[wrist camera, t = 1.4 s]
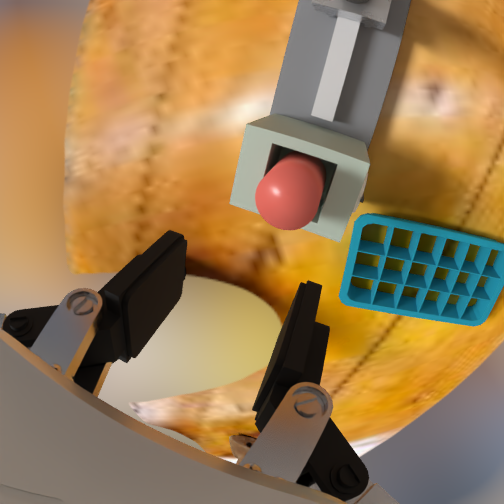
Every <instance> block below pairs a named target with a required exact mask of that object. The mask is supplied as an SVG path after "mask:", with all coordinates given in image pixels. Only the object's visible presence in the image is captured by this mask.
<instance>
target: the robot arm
mask: <svg viewBox="0 0 504 504" xmlns="http://www.w3.org/2000/svg"><path fill="white" fill-rule="evenodd" d="M186 250H187V240H185V239H184V236H183V235H182V234H180V233H177V232H174V231H171V230H169V231H167V232H166V233H165V234H164V235H163V236H162V237H161V238H159V239H158V240H157V241H156V242H155V243H154V244H153V245H152V246H151V247H149V248H148V249H147V250H146V251H145V252H144V253H143V254H142V255H137V256H136V257H135V258H134V259H133V260H131V261H130V262H129V263H128V264H127V265H126V266H125V267H124V268H123V269H122V270H121V271H120V272H118V273H117V274H116V275H115V276H114V277H113V278H112V279H111V280H110V281H109V282H108V283H107V284H106V285H105V286H104V287H103V288H102V289H101V290H100V291H98V292H96V291H94V290H92V289H88V288H80V289H76V290H73V291H71V292H70V293H68V294H67V295H66V296H65V298H64V299H63V300H62V302H61V303H60V305H55V306H47V307H39V308H31V309H23V310H17V311H14V312H12V313H11V314H9V315H8V316H6V314H1V313H0V504H399V503H398V502H397V501H396V500H395V499H394V498H392V497H391V496H390V495H389V494H388V493H387V492H386V491H385V490H384V489H383V488H382V487H381V486H379V485H378V483H376V484H373V483H372V482H371V481H370V480H369V475H368V470H367V468H366V467H365V465H364V464H363V462H362V461H361V459H360V458H359V457H358V455H357V454H356V453H355V451H354V450H353V448H352V447H351V446H350V444H349V443H348V442H347V440H346V439H345V437H344V436H343V435H342V433H341V432H340V430H339V429H338V428H337V426H336V425H335V423H334V422H333V421H332V419H331V418H330V415H331V413H332V409H333V403H332V399H331V397H330V395H329V394H328V392H327V391H326V390H325V389H324V388H322V387H321V386H320V381H321V376H322V371H323V366H324V360H325V355H326V349H327V343H328V337H329V331H330V327H329V326H327V325H324V324H321V323H318V322H315V318H316V314H317V309H318V304H319V299H320V294H321V289H322V285H320V284H317V283H314V282H311V281H309V280H308V281H307V283H306V284H305V283H302V282H301V283H300V285H299V288H298V290H297V293H296V295H295V298H294V300H293V302H292V305H291V307H290V310H289V312H288V315H287V317H286V319H285V322H284V324H283V326H282V329H281V331H280V334H279V336H278V339H277V342H276V345H275V348H274V350H273V353H272V356H271V359H270V362H269V365H268V367H267V370H266V373H265V376H264V378H263V381H262V384H261V387H260V389H259V392H258V395H257V398H256V400H255V403H254V406H253V408H252V410H253V411H256V412H257V414H256V417H255V420H256V423H255V425H256V426H257V428H258V430H259V432H260V433H261V434H260V435H259V436H258V438H257V439H256V441H255V442H254V444H253V445H252V447H251V448H250V449H249V451H248V452H247V454H246V455H245V456H244V458H243V459H242V461H241V462H240V463H239V465H237V464H234V463H231V462H229V461H226V460H223V459H221V458H218V457H216V456H213V455H210V454H208V453H206V452H203V451H201V450H198V449H196V448H194V447H191V446H188V445H187V444H184V443H182V442H180V441H178V440H176V439H173V438H171V437H169V436H167V435H165V434H163V433H161V432H159V431H157V430H155V429H153V428H151V427H149V426H146V425H145V424H143V423H141V422H139V421H137V420H135V419H134V418H132V417H130V416H128V415H126V414H124V413H123V412H121V411H119V410H118V409H116V408H114V407H112V406H111V405H109V404H107V403H106V402H104V401H102V400H101V399H99V398H97V397H98V395H99V392H100V390H101V388H102V385H103V383H104V380H105V378H106V376H107V373H108V371H109V369H110V367H111V364H112V362H114V361H116V360H117V359H120V360H122V361H124V362H126V363H127V362H128V361H129V360H130V359H131V357H133V358H136V357H137V356H138V354H139V353H140V352H141V350H142V349H143V347H144V346H145V345H146V344H147V342H148V341H149V340H150V338H151V337H152V336H153V334H154V333H155V331H156V330H157V329H158V327H159V326H160V325H161V323H162V322H163V321H164V320H165V318H166V317H167V316H168V314H169V313H170V312H171V310H172V309H173V308H174V306H175V305H176V304H177V302H178V301H179V299H180V297H181V294H182V287H183V277H184V268H185V258H186Z"/></svg>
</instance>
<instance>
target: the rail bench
mask: <svg viewBox="0 0 504 504" xmlns="http://www.w3.org/2000/svg"><path fill="white" fill-rule="evenodd" d="M311 2H312V0H299V2H298V6H297V10H296V14H295V17H294V21H293V25H292V29H291V33H290V37H289V41H288V44H287V48H286V52H285V56H284V60H283V64H282V68H281V72H280V76H279V80H278V84H277V88H276V92H275V96H274V100H273V104H272V108H271V112H270V115H269V116H267V117H264V118H261V119H259V120H256V121H253V122H251V123H248V124H246V129H245V133H244V138H243V142H242V147H241V152H240V156H239V161H238V165H237V170H236V175H235V180H234V184H233V189H232V194H231V199H230V204H231V205H234V206H237V207H240V208H243V209H246V210H249V211H252V212H255V213H258V214H260V213H259V211H258V209H257V207H256V203H255V193H256V189H257V186H258V184H259V182H260V181H261V180H262V179H263V178H264V176H265V175H266V174H267V173H268V172H269V171H270V170H271V169H272V168H273V167H274V166H275V165H276V164H277V163H278V162H279V161H280V160H281V159H282V157H283V156H285V155H286V154H288V153H289V152H292V151H299V152H303V153H306V154H309V155H312V156H315V157H318V158H319V159H320V160H321V161H322V163H323V165H324V167H325V170H326V182H325V185H324V189H323V192H322V196H321V199H320V203H319V206H318V210H317V213H316V215H315V217H314V218H313V220H312V221H311V222H310V223H309V224H307V225H306V226H304V227H302V228H301V229H304V230H307V231H309V232H312V233H315V234H318V235H320V236H323V237H326V238H329V239H331V240H334V241H337V242H340V241H341V238H342V236H343V233H344V231H345V229H346V226H347V224H348V221H349V219H350V216H351V214H352V212H353V213H354V212H355V211H356V209H357V207H358V205H359V203H360V202H362V203H363V200H364V194H363V192H364V189H365V186H366V182H367V177H368V169H369V166H370V160H369V156H368V153H367V151H368V148H369V145H370V142H371V139H372V136H373V133H374V130H375V127H376V124H377V121H378V118H379V115H380V111H381V108H382V105H383V102H384V99H385V95H386V92H387V89H388V86H389V82H390V79H391V75H392V72H393V68H394V65H395V61H396V58H397V54H398V50H399V47H400V43H401V39H402V35H403V31H404V27H405V23H406V19H407V15H408V11H409V6H410V2H411V0H391V4H390V8H389V12H388V17H387V20H386V24H385V26H384V28H383V30H380V29H377V28H374V27H371V28H367V27H364V24H362V23H359V22H356V21H353V20H349V19H346V18H342V17H339V16H334V18H333V17H330V16H327V13H323V12H319V11H315V9H314V7H313V5H312V3H311Z"/></svg>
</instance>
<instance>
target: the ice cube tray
mask: <svg viewBox="0 0 504 504" xmlns="http://www.w3.org/2000/svg"><path fill="white" fill-rule="evenodd" d="M373 223H374V224H380V225H385V226H388V228H387V232H386V236H385V240H384V244H381V243H376V242H371V241H365V240H360V238H361V233H362V228H363V227H364V226H366V225H367V224H373ZM394 227H395V228H400V229H405V230H410V231H413V233H412V237H411V241H410V244H409V248H408V249H407V248H402V247H397V246H392V245H390V242H391V238H392V234H393V230H394ZM421 233H424V234H429V235H434V236H437V238H436V241H435V244H434V247H433V250H432V253H427V252H422V251H417V250H416V249H417V246H418V243H419V239H420V236H421ZM447 238H448V239H452V240H456V241H459V244H458V247H457V249H456V252H455V255H454V258H452V257H447V256H442V255H441V254H442V251H443V248H444V245H445V242H446V239H447ZM470 244H474V245H478V246H480V247H479V250H478V253H477V255H476V258H475V261H474V262H471V261H466V260H465V257H466V254H467V252H468V249H469V246H470ZM492 249H495V250H499V251H498V254H497V256H496V259H495V261H494V264H493V266H489V265H486V262H487V260H488V257H489V255H490V252H491V250H492ZM357 252H363V253H368V254H374V255H379V256H380V260H379V263H378V267H374V266H368V265H363V264H357V263H355V260H356V256H357ZM386 257H389V258H395V259H400V260H405V261H404V264H403V267H402V270H401V271H395V270H390V269H385V268H384V264H385V261H386ZM412 262H416V263H421V264H426V265H427V268H426V271H425V274H424V276H422V275H417V274H411V273H409V271H410V268H411V265H412ZM437 267H441V268H446V269H449V271H448V274H447V276H446V279H445V280H443V279H438V278H433V276H434V274H435V271H436V268H437ZM460 271H461V272H466V273H469V276H468V278H467V280H466V283H465V284H464V283H459V282H456V280H457V277H458V275H459V272H460ZM352 276H355V277H360V278H366V279H371V280H374V281H373V284H372V288H371V290H369V289H363V288H357V287H355V286H353V285H352V283H351V282H350V281H351V277H352ZM481 276H486V277H488V278H487V280H486V282H485V285H484V287H480V286H477V284H478V281H479V279H480V277H481ZM379 281H382V282H387V283H393V284H397V286H396V289H395V291H394V294H391V293H385V292H380V291H377V288H378V285H379ZM404 286H410V287H415V288H419V290H418V293H417V295H416V298H414V297H408V296H402V295H401V294H402V291H403V289H404ZM503 286H504V243H500V242H497V241H496V240H493V239H489V238H485V237H481V236H477V235H473V234H469V233H465V232H460V231H456V230H452V229H447V228H443V227H439V226H434V225H429V224H425V223H420V222H415V221H411V220H406V219H401V218H396V217H391V216H386V215H381V214H376V213H372V214H369V213H367V214H363V215H360V216H359V217H358V218H357V220H356V221H355V222H354V228H353V233H352V238H351V243H350V248H349V253H348V257H347V262H346V266H345V271H344V275H343V280H342V284H341V288H340V293H339V298H340V300H341V302H342V303H343V304H345V305H347V306H352V307H358V308H363V309H369V310H374V311H380V312H386V313H392V314H398V315H404V316H410V317H416V318H422V319H428V320H435V321H441V322H448V323H455V324H461V325H468V326H478V325H481V324H482V323H483V322H485V321H486V319H487V317H488V315H489V314H490V312H491V310H492V308H493V306H494V304H495V302H496V300H497V298H498V296H499V294H500V292H501V290H502V288H503ZM428 290H432V291H437V292H440V294H439V296H438V298H437V301H431V300H425V297H426V294H427V292H428ZM450 294H454V295H460V296H459V298H458V301H457V303H456V305H455V304H449V303H447V301H448V298H449V296H450ZM471 298H477V302H476V303H475V304H474V305H472V306H467V305H468V303H469V301H470V299H471Z"/></svg>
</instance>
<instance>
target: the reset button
mask: <svg viewBox="0 0 504 504" xmlns="http://www.w3.org/2000/svg"><path fill="white" fill-rule="evenodd" d="M325 182H326V170H325V167H324V165H323V163H322V161H321V160H320V159H319V158H318V157H315V156H312V155H309V154H306V153H303V152H299V151H292V152H289V153H288V154H286V155H285V156H283V157H282V159H281V160H280V161H279V162H278V163H277V164H276V165H275V166H274V167H273V168H272V169H271V170H270V171H269V172H268V173H267V174H266V175H265V176H264V178H263V179H262V180H261V181H260V182H259V184H258V186H257V189H256V193H255V203H256V207H257V209H258V211H259V213H260V215H261V216H262V217H263V219H264V220H265V221H267V222H268V223H269V224H270V225H272V226H274V227H276V228H279V229H283V230H296V229H300V228H302V227H304V226H306V225H307V224H309V223H310V222H311V221H312V220H313V218H314V217H315V215H316V213H317V210H318V206H319V203H320V199H321V196H322V192H323V189H324V185H325Z"/></svg>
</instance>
